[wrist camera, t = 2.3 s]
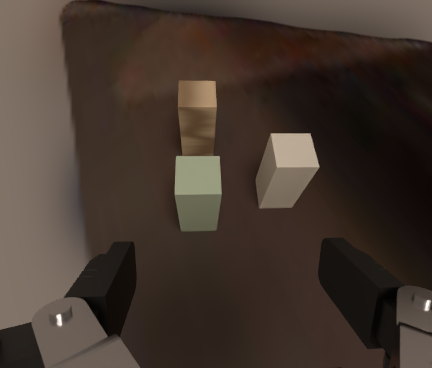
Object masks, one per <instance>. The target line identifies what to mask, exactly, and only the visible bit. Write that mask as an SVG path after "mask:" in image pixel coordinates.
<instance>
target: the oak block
mask: <svg viewBox="0 0 432 368" xmlns="http://www.w3.org/2000/svg"><path fill="white" fill-rule="evenodd" d="M216 109H217V105H216V87H215V81H179V94H178V112H179V123H180V133H181V144H182V155H183V156H213V152H214V138H215V124H216Z"/></svg>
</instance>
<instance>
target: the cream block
mask: <svg viewBox="0 0 432 368" xmlns="http://www.w3.org/2000/svg"><path fill="white" fill-rule="evenodd" d="M318 168H319V164H318V160H317V157H316V153H315V149H314V146H313V142H312V138H311V134H271V135H270V138H269V141H268V144H267V147H266V150H265V153H264V155H263V158H262V161H261V164H260V167H259V170H258V173H257V176H256V179H255V181H256V188H257V196H258V204H259V208H292V207H293V205H294V204H295V202H296V201H297V199H298V198H299V196H300V195H301V193H302V192H303V191H304V189H305V188H306V186H307V185H308V183H309V182H310V180H311V179H312V177H313V176H314V174H315V173H316V171H317V170H318Z"/></svg>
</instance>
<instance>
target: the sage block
mask: <svg viewBox="0 0 432 368" xmlns="http://www.w3.org/2000/svg"><path fill="white" fill-rule="evenodd" d="M221 195H222V192H221V174H220V157H219V156H176V174H175V199H176V205H177V211H178V217H179V223H180V228H181V231H216V230H217V223H218V216H219V209H220V202H221Z"/></svg>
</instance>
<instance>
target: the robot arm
mask: <svg viewBox="0 0 432 368" xmlns="http://www.w3.org/2000/svg"><path fill="white" fill-rule="evenodd" d="M318 276H319V281H320V284H321V286H322V287H323V288H324V290H325V291H326V293H327V294H328V295H329V297H330V298H331V299H332V301H333V302H334V304H335V305H336V306H337V308H338V309H339V310H340V312H341V313H342V315H343V316H344V317H345V319H346V320H347V321H348V323H349V324H350V326H351V327H352V328H353V330H354V331H355V332H356V334H357V335H358V337H359V338H360V339H361V341H362V342H363V343H364V345H365V346H366V348H367V349H376V348H383V349H384V350H385V354H384V359H383V368H432V291H429V290H427V289H423V288H420V287H415V286H405V285H404V284H403V283H402V282H401V281H399V280H398V279H397V278H396V277H395V276H393V275H392V274H391V273H390V272H388V271H387V270H386V269H384V267H382V266H381V265H380V264H379V263H377V262H376V261H375V260H374V259H373V258H371V257H370V256H369V255H368V254H366V253H364V252H362V251H360V250H358V249H356V248H354V247H353V246H352V245H351V244H350V243H348V242H347V241H346V240H345V239H344V238H324V239H323V241H322V244H321V253H320V261H319V269H318ZM136 279H137V277H136V261H135V246H134V242H114V243H113V244H112V246H111V247H110V249H109V251H108V252H107V254H99V255H98V256H96V257H95V258H94V259H92V260H91V261H89V263H88V264H87V266H86V267H85V269H84V271H82V273H81V274H80V276H79V278H77V280H76V281H75V283H74V284H73V286H72V287H71V288H70V290H69V291H68V293H67V294H66V295H65V297H64V298H63V299H59V300H56V301H53V302H51V303H49V304H47V305H45V306H44V307H42V308H41V309H40V310H38V311H37V312H36V314H35V315H34V316H33V319H32V322H30V323H26V324H23V325H18V326H15V327H10V328H6V329H2V330H0V368H140V367H139V365H138V364H137V362H136V361H135V359H134V358H133V356H132V355H131V353H130V352H129V351H128V349H127V348H126V346H125V345H124V343H123V342H122V340H121V339H120V334H121V331H122V328H123V325H124V322H125V319H126V316H127V313H128V311H129V308H130V305H131V302H132V299H133V296H134V293H135V289H136ZM340 368H341V367H340Z"/></svg>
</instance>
